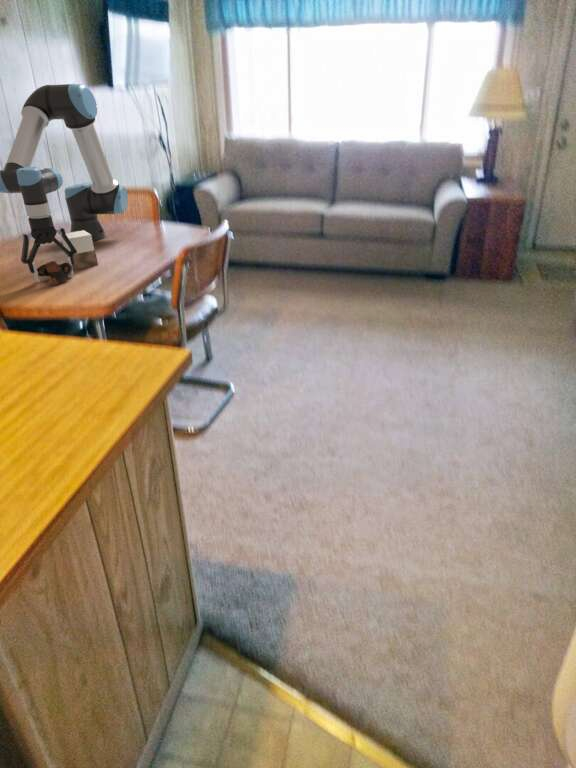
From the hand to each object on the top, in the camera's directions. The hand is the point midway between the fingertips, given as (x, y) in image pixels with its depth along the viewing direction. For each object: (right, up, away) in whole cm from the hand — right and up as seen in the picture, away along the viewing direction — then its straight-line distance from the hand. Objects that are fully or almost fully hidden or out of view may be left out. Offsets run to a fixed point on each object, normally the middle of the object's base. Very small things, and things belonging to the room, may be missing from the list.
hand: (55, 277), depth 197 cm
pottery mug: (+1, -2, 0) cm, 2 cm away
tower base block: (+4, +8, +16) cm, 18 cm away
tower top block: (+4, +13, +13) cm, 19 cm away
